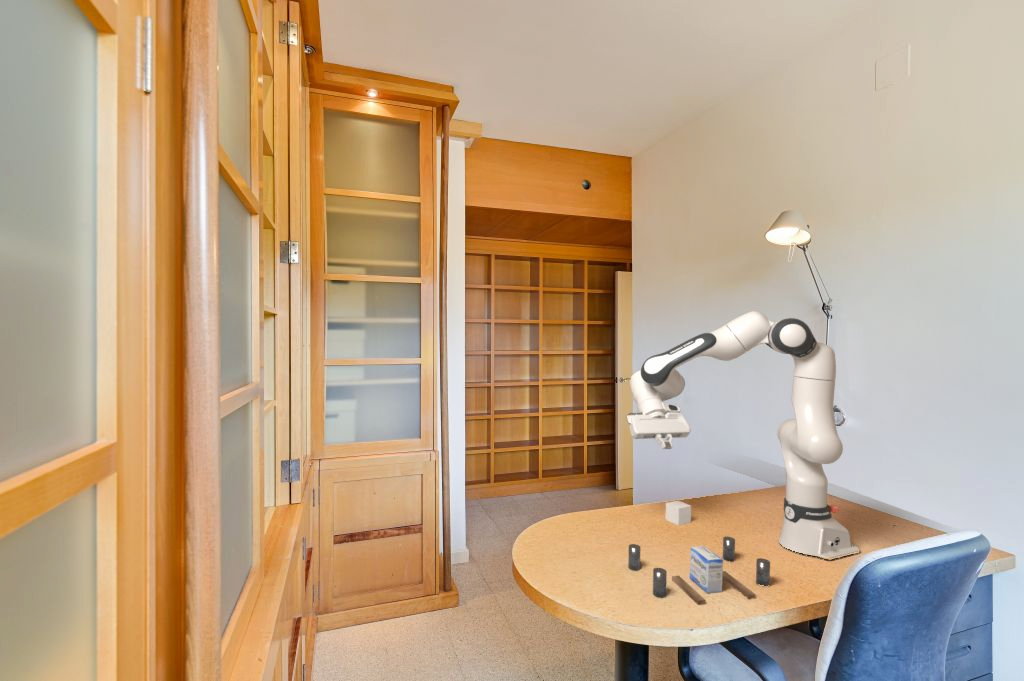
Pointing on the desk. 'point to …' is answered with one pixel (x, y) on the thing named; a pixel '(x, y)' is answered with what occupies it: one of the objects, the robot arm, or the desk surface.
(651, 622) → the desk surface
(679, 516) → the white cube
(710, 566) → the medicine box
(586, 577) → the desk surface
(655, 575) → the spacer posts
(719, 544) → the desk surface
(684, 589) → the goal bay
